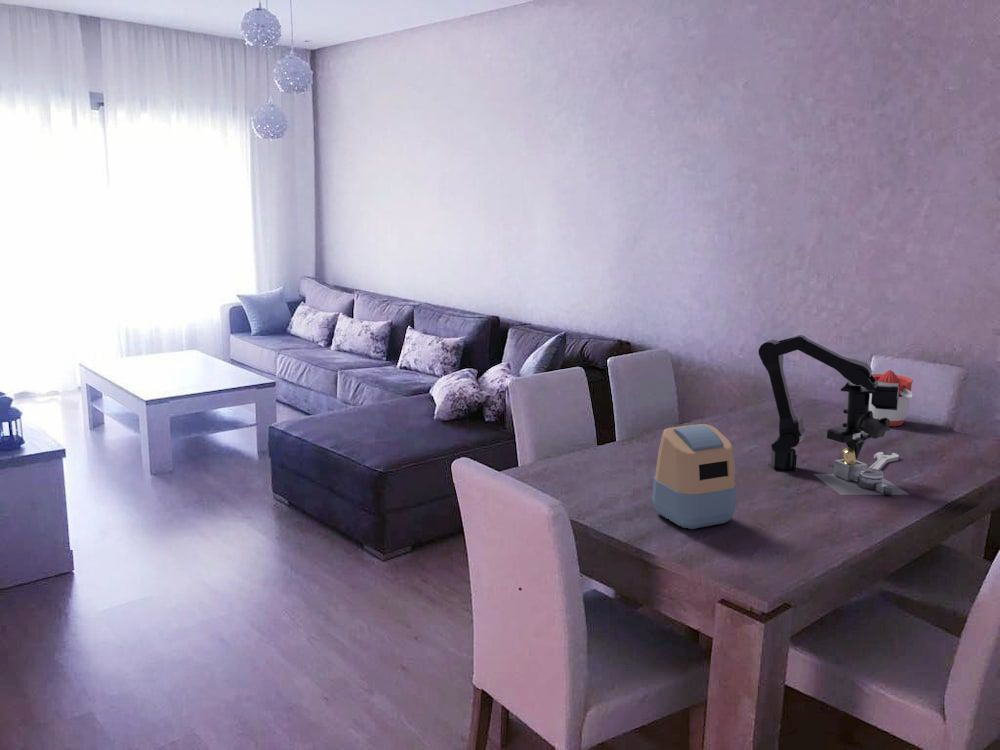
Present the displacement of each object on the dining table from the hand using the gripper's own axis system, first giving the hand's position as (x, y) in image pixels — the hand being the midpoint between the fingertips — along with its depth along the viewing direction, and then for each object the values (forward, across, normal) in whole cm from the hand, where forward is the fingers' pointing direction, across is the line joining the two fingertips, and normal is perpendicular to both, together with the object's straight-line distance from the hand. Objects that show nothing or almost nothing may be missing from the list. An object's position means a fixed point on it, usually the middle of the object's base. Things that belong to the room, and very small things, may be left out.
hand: (854, 458), depth 233 cm
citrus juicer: (+9, +65, +37) cm, 75 cm away
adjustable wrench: (+8, +18, +6) cm, 20 cm away
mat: (+6, -3, -4) cm, 8 cm away
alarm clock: (+3, -62, -2) cm, 63 cm away
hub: (+6, -3, -8) cm, 10 cm away
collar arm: (+5, -3, -6) cm, 8 cm away
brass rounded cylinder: (+4, 0, +1) cm, 4 cm away
